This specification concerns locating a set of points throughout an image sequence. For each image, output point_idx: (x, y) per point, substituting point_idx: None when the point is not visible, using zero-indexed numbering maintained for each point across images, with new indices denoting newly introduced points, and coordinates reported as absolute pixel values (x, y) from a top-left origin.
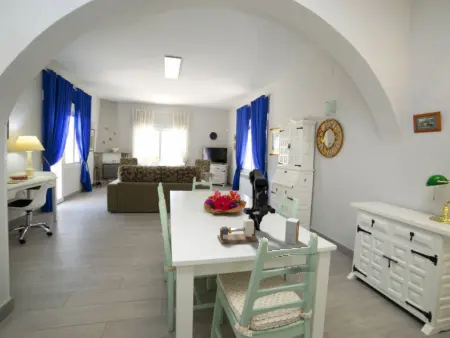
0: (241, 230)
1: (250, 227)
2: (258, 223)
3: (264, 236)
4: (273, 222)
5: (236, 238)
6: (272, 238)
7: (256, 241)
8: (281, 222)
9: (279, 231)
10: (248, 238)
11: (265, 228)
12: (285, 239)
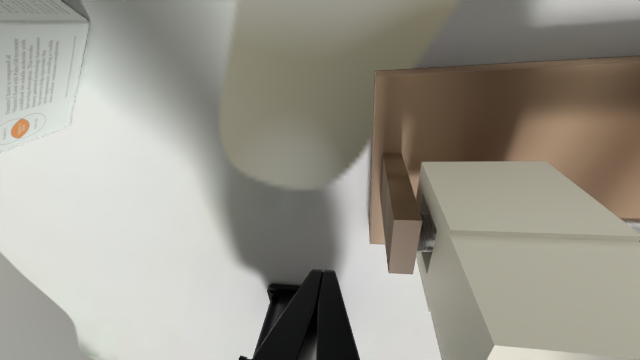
0: (628, 219)
1: (519, 223)
2: (336, 289)
3: (268, 195)
4: (171, 347)
5: (637, 147)
6: (207, 145)
7: (402, 71)
8: (129, 339)
9: (142, 252)
10: (485, 127)
11: (228, 302)
12: (50, 17)
